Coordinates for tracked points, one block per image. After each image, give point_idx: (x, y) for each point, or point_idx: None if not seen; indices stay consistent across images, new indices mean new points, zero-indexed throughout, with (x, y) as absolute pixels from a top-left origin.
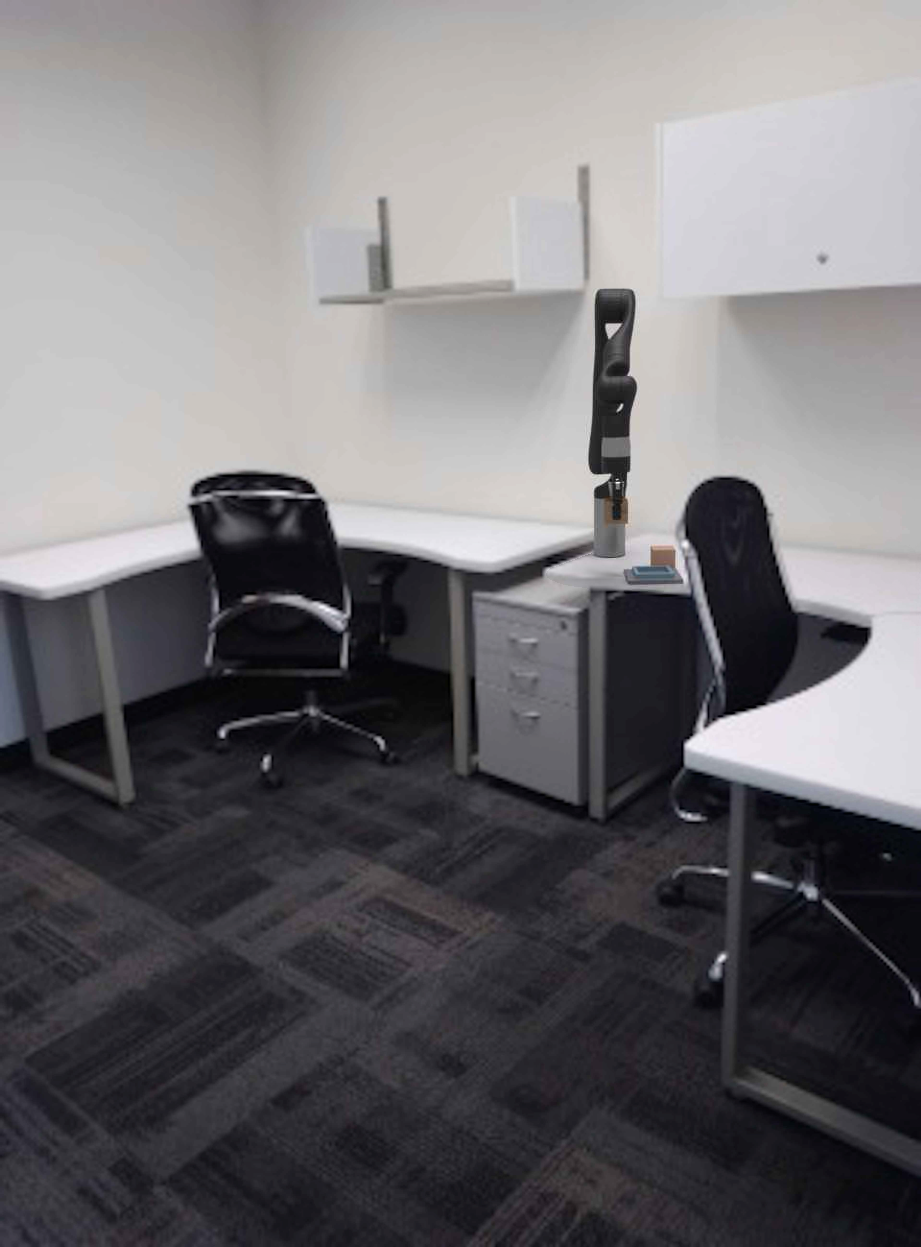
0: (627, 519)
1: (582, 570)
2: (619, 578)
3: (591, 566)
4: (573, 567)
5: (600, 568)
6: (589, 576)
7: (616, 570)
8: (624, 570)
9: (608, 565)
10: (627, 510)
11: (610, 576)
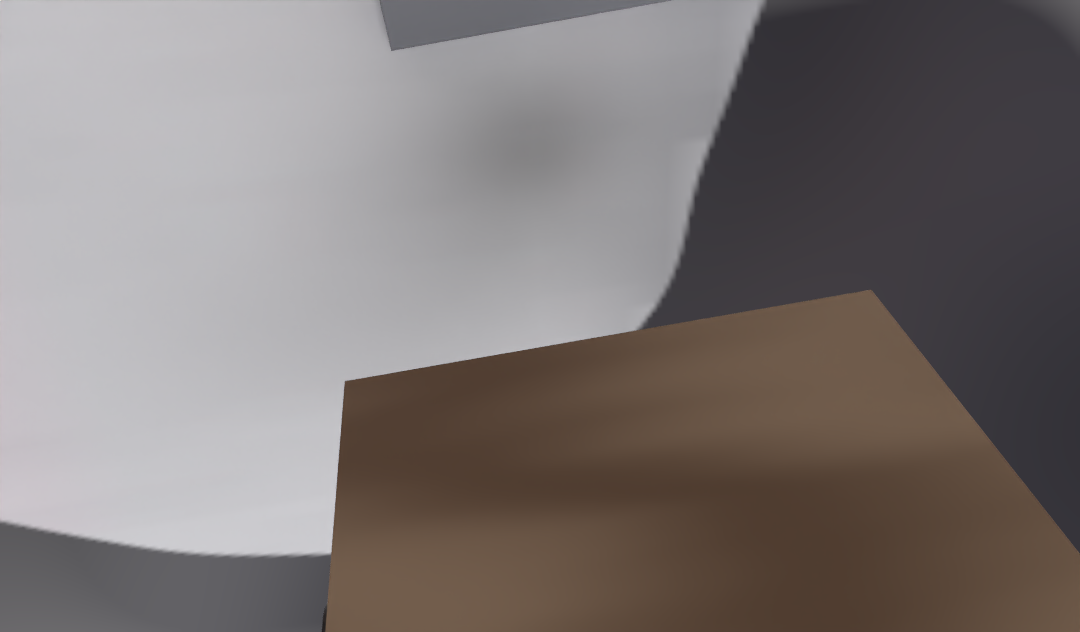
0: (913, 355)
1: (338, 420)
2: (669, 58)
3: (141, 379)
4: (226, 501)
5: (215, 291)
6: (581, 332)
7: (280, 128)
8: (462, 37)
9: (39, 237)
10: (1037, 521)
11: (577, 156)
